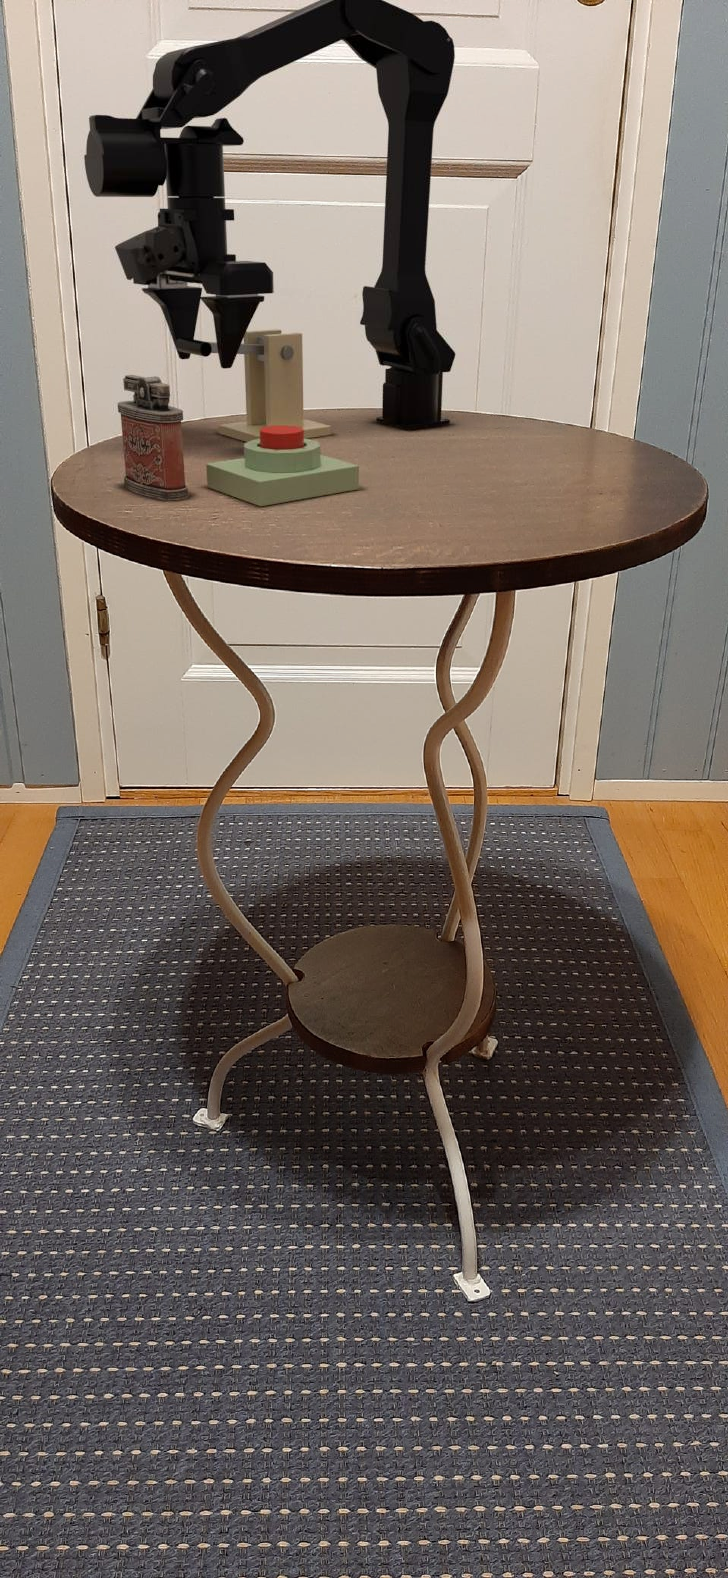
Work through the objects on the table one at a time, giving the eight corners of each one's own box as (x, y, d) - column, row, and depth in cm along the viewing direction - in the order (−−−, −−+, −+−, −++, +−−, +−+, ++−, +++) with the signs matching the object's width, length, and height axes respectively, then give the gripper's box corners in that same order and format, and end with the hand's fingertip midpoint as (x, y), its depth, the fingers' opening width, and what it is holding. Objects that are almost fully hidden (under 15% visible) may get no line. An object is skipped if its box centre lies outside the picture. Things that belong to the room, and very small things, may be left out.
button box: (303, 472, 113) (302, 430, 111) (359, 489, 107) (359, 445, 105) (207, 487, 107) (204, 443, 105) (260, 506, 101) (258, 460, 99)
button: (287, 442, 108) (287, 423, 107) (312, 449, 105) (312, 430, 104) (251, 447, 106) (251, 428, 105) (276, 455, 103) (275, 435, 102)
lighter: (196, 496, 104) (190, 380, 100) (165, 502, 102) (157, 384, 97) (146, 480, 109) (138, 370, 105) (116, 486, 107) (106, 373, 103)
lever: (199, 361, 118) (200, 336, 117) (175, 356, 122) (175, 331, 121) (295, 364, 125) (297, 341, 125) (270, 359, 129) (271, 336, 128)
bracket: (257, 445, 125) (254, 339, 120) (218, 433, 130) (213, 331, 125) (331, 435, 130) (331, 332, 125) (291, 424, 136) (289, 326, 131)
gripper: (79, 196, 116) (95, 359, 124) (171, 198, 103) (182, 381, 111) (176, 196, 122) (185, 352, 130) (274, 198, 109) (278, 371, 117)
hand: (204, 363), depth 121 cm, fingers open, 8 cm apart
